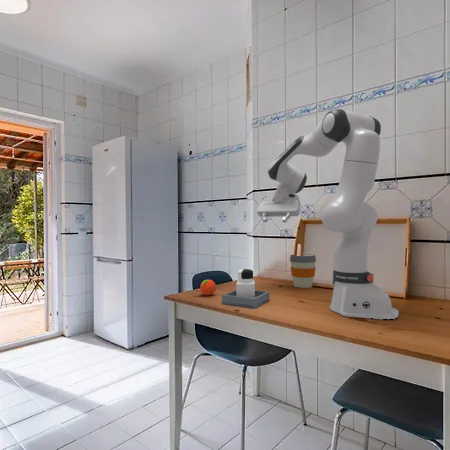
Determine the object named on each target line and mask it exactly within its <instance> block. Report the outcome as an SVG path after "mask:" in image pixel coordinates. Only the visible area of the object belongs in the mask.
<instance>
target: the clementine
mask: <svg viewBox="0 0 450 450" xmlns="http://www.w3.org/2000/svg"><path fill="white" fill-rule="evenodd" d="M199 288H200V292H201V294H203V295H204V296H206V297H207V296H212V295H213V294H214V293H215V292H216V289H217V285H216V283H215V282H214V281H213V280H212V279H205V280H203V281H202V282H201V283H200V286H199Z"/></svg>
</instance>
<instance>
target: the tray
mask: <svg viewBox="0 0 450 450" xmlns="http://www.w3.org/2000/svg"><path fill="white" fill-rule="evenodd" d="M269 301H270V291H265V290H257V289H255V298H254V299H253V298H246V297H238V296H236V289H234V290H232V291H230V292H227V293H226V292H225V293H224V294H222V295H221V305H226V306H233V307H235V306H236V307H240V308H247V309H248V308H249V309H253V310H254V309H257V308H259V307H260V306H262V305H264V304H266V303H267V302H269Z"/></svg>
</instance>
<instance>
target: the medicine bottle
mask: <svg viewBox="0 0 450 450" xmlns="http://www.w3.org/2000/svg"><path fill="white" fill-rule="evenodd" d="M255 282H256V281H255V280H254V271H253V270H252V269H247V268H242V269H239V270H238V271H237V280H236V286H235V287H236V289H235V290H236V296H238V297H246V298H253V299H254V298H255V290H256V288H255V286H256V285H255V284H256V283H255Z"/></svg>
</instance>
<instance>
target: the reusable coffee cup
mask: <svg viewBox="0 0 450 450" xmlns="http://www.w3.org/2000/svg"><path fill="white" fill-rule="evenodd" d="M294 255H295V254H290V256H289V257H290V258H289V262H290V272H291V273H290V274H291V276H292V283H293V286H294V287H295V288H296V287H297V288H303V289H306V288H307V289H308V288H313V285H312V284H314V277H315V276H316V269H317V267H316V262H317V257H316V255H315V254H312V255H313V256H294Z"/></svg>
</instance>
